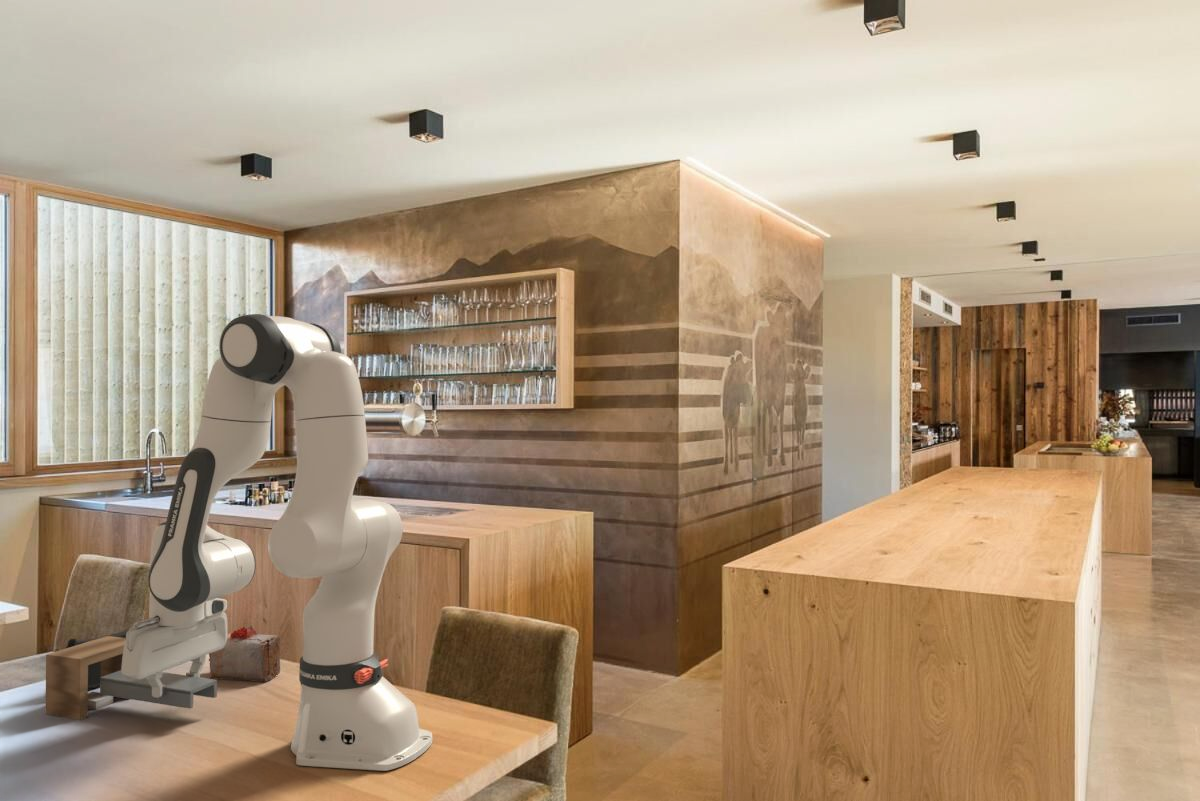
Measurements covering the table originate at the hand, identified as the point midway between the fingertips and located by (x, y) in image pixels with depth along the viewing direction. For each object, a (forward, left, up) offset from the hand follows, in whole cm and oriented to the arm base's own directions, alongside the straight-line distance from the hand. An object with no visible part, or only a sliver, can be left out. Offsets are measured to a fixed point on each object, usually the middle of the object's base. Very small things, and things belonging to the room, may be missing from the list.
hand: (176, 689), depth 146 cm
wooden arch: (+19, 0, -5) cm, 19 cm away
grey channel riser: (+4, 0, -2) cm, 4 cm away
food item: (+5, -22, -5) cm, 23 cm away
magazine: (+27, -15, -5) cm, 31 cm away
